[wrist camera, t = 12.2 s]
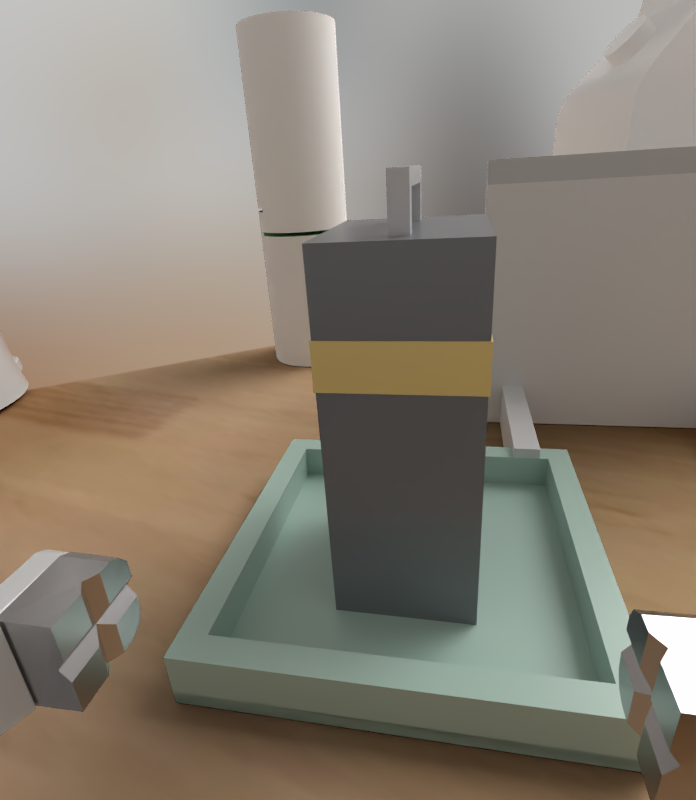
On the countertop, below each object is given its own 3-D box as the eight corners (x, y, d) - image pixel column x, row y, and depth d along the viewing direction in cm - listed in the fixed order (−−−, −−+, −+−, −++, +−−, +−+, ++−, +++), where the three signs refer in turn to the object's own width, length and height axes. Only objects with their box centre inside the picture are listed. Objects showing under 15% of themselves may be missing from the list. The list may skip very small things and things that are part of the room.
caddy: (334, 610, 19) (292, 174, 13) (362, 510, 25) (342, 170, 19) (477, 626, 18) (503, 160, 12) (474, 518, 23) (490, 160, 18)
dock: (481, 490, 26) (498, 159, 20) (476, 413, 34) (487, 160, 28) (853, 511, 23) (1008, 125, 17) (751, 420, 31) (832, 136, 25)
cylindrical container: (340, 336, 52) (319, 37, 42) (365, 358, 46) (348, 12, 36) (269, 348, 50) (229, 36, 40) (286, 371, 44) (243, 9, 34)
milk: (753, 381, 36) (886, -105, 26) (590, 393, 36) (658, -91, 26) (653, 332, 47) (718, -23, 37) (528, 341, 47) (557, -13, 37)
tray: (176, 702, 17) (163, 657, 16) (297, 470, 29) (293, 438, 28) (655, 774, 14) (669, 725, 13) (562, 483, 26) (566, 449, 26)
